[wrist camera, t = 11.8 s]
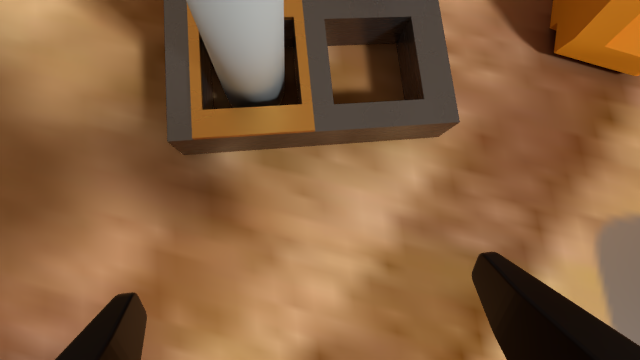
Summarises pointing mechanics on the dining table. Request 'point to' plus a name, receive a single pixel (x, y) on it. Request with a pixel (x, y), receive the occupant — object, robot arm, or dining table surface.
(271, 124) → the grey boxy holed piece
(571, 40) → the bracket
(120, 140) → the dining table surface
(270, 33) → the peg
